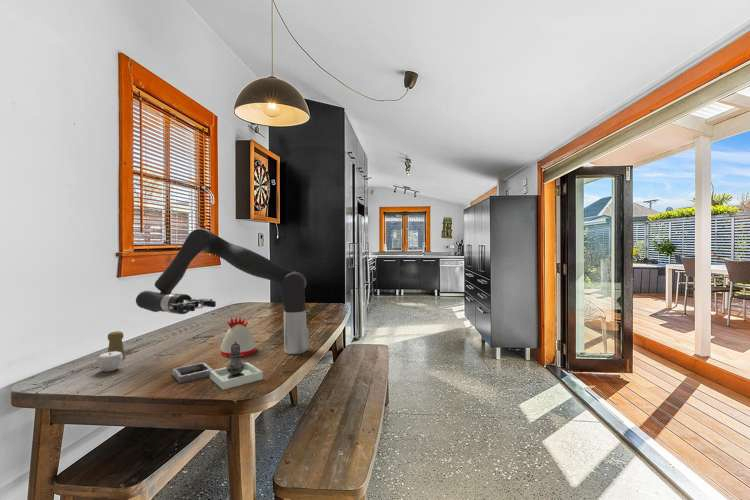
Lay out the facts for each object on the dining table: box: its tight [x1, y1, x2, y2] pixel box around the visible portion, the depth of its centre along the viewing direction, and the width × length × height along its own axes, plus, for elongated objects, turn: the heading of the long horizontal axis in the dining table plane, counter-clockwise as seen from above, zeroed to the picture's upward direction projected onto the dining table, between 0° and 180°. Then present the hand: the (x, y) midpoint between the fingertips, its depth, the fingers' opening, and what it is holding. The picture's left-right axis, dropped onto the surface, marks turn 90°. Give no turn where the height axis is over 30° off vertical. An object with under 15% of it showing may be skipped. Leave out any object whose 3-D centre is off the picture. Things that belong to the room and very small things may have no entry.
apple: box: [96, 351, 124, 372], centre depth 131 cm, size 8×8×7 cm
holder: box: [171, 362, 214, 384], centre depth 125 cm, size 10×10×2 cm
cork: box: [107, 330, 126, 360], centre depth 143 cm, size 6×6×11 cm
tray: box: [209, 362, 264, 391], centre depth 121 cm, size 13×13×2 cm
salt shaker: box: [225, 341, 245, 379], centre depth 121 cm, size 6×6×12 cm
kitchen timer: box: [220, 316, 257, 358], centre depth 151 cm, size 14×14×15 cm
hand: (204, 306), depth 130 cm, fingers open, 8 cm apart
